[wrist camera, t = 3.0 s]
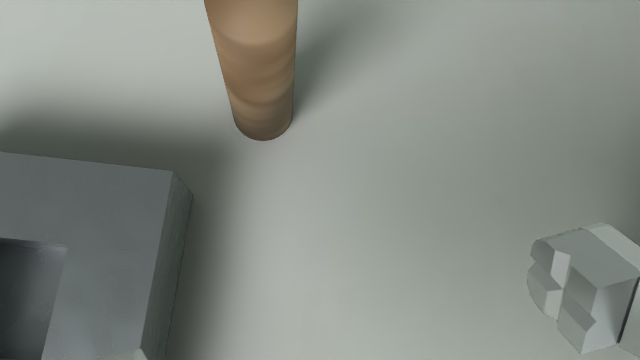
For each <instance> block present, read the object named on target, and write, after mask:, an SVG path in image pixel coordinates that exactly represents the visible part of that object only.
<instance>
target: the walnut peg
mask: <svg viewBox="0 0 640 360" xmlns="http://www.w3.org/2000/svg"><path fill="white" fill-rule="evenodd" d="M204 3H205V8H206V12H207V16H208V20H209V23H210V27H211V31H212V35H213V39H214V43H215V47H216V51H217V55H218V58H219V62H220V66H221V70H222V74H223V78H224V82H225V86H226V90H227V94H228V97H229V101H230V105H231V109H232V113H233V117H234V121H235V123H236V126H237V127H238V129H239V130H240V131H241V132H242V133H243V134H244V135H246V136H247V137H249V138H251V139H254V140H259V141H267V140H272V139H275V138H277V137H279V136H280V135H282V134H283V133H284V132H285V131H286V130H287V128H288V127H289V125H290V122H291V119H292V106H293V88H294V69H295V50H296V32H297V13H298V0H204Z"/></svg>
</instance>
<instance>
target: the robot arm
mask: <svg viewBox="0 0 640 360" xmlns="http://www.w3.org/2000/svg"><path fill="white" fill-rule="evenodd" d="M531 256H532V258H533V259H534V260H535V261H536V262H535V263H534V264H533V266H532V267H531V268H530V269H529V271H528V278H527V285H528V288H529V292H530V295H531V297H532V299H533V301H534V302H535V304H536V305H537V307H538V308H539V309H540V310H541V311H542V312H543V314H546V315H548V316H550V317H552V318H555V319H557V322H558V330H559V332H560V333H561V334H562V335H563V336H564V337H565V338H566V339H567V340H568V342H569V343H570V344H571V345H572V346H573V347H574V348H575V349H576V350H577V351H578V353H579V354H580V355H582V354H586V353H589V352H593V351H597V350H600V349H604V348H607V347H611V346H614V345H618V344H619V347H621V348H623V349H624V350H626V351H628V352H630V353H632V354H634V355H636V356H638V357H639V358H640V246H638V245H637V244H635V243H634V242H633V241H631V240H630V239H629V238H627V237H626V236H624V235H623V234H622V233H620V232H619V231H618V230H616V229H615V228H613V227H612V226H611V225H609V224H606V223H603V222H599V223H596V224H592V225H589V226H585V227H581V228H579V229H574V230H571V231H567V232H564V233H560V234H557V235H553V236H549V237H546V238H542V239H539V240H536V241H535V243H534V244H533V245H532V249H531ZM93 360H147V358H146V356H145V355H144V353H143V351H142V349H134V350H129V351H125V352H121V353H117V354H113V355H109V356H105V357H101V358H97V359H93Z"/></svg>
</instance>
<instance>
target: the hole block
mask: <svg viewBox="0 0 640 360" xmlns="http://www.w3.org/2000/svg"><path fill="white" fill-rule="evenodd" d="M192 196H193V195H192V194H191V193H190V191H189V190H188V189H187V188H186V186H185V185H184V184H183V183H182V181H181V180H180V179H179V178H178V177H177V175H176V174H175V173H174V172H173V171H169V170H161V169H152V168H143V167H134V166H125V165H116V164H107V163H98V162H89V161H80V160H71V159H62V158H54V157H45V156H36V155H27V154H18V153H9V152H0V360H93V359H97V358H101V357H105V356H109V355H113V354H117V353H121V352H125V351H129V350H134V349H142V351H143V353H144V355H145V356H146V358H147V360H164V357H165V351H166V346H167V340H168V334H169V328H170V323H171V317H172V311H173V305H174V300H175V294H176V288H177V282H178V277H179V271H180V265H181V259H182V254H183V248H184V242H185V236H186V231H187V225H188V219H189V213H190V208H191V202H192Z"/></svg>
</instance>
